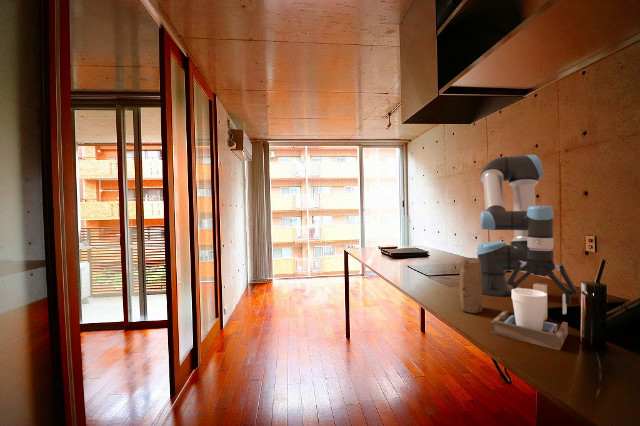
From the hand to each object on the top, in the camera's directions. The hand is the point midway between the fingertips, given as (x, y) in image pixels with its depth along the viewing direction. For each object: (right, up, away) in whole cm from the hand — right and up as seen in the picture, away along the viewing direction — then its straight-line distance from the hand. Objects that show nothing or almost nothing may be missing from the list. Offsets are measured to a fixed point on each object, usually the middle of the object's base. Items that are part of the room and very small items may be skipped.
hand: (540, 308), depth 110 cm
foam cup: (-12, -4, -12) cm, 18 cm away
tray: (-8, -4, -8) cm, 11 cm away
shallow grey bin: (-12, -4, -12) cm, 18 cm away
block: (-20, -4, +11) cm, 23 cm away
